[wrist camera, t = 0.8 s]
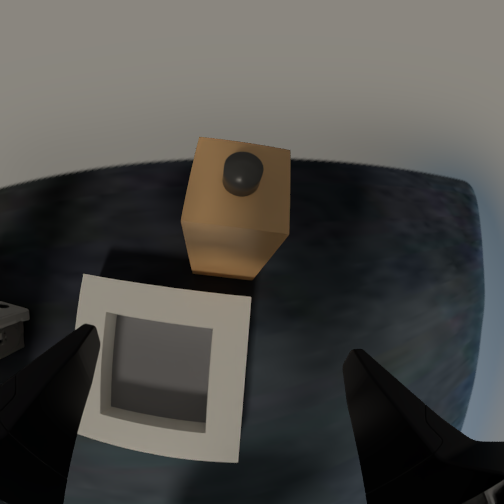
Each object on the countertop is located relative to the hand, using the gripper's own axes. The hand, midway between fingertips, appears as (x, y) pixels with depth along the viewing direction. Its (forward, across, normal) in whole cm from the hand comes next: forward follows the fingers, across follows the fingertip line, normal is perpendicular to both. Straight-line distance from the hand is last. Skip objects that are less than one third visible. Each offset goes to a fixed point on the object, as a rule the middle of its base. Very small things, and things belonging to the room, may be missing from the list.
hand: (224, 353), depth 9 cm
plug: (+15, 0, +4) cm, 15 cm away
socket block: (+7, +4, +12) cm, 14 cm away
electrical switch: (+8, +22, +12) cm, 26 cm away
